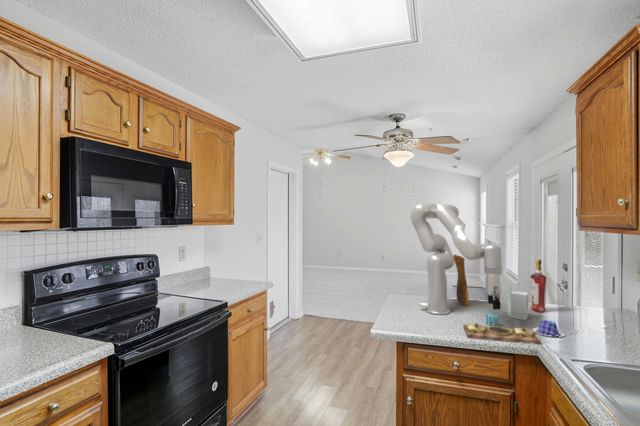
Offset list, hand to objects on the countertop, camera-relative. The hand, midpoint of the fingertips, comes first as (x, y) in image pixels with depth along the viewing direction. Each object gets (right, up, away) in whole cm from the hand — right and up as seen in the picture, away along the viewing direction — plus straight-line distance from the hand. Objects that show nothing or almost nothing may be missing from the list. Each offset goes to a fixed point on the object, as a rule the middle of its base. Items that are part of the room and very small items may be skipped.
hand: (494, 306), depth 164 cm
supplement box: (+19, -9, +12) cm, 24 cm away
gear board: (-4, -10, -13) cm, 16 cm away
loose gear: (-1, -9, +1) cm, 9 cm away
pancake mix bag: (+1, -9, +40) cm, 41 cm away
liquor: (+35, -9, +22) cm, 43 cm away
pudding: (+19, -10, -10) cm, 24 cm away
